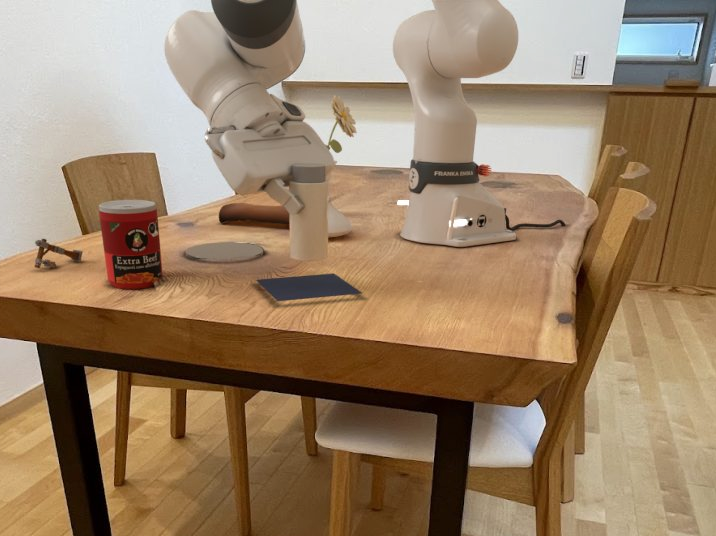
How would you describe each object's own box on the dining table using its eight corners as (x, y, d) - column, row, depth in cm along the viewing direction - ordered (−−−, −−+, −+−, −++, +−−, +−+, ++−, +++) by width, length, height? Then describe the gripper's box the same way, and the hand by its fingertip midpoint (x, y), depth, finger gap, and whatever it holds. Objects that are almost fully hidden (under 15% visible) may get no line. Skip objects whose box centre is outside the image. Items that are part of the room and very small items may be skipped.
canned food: (113, 292, 90) (103, 210, 86) (103, 278, 96) (93, 201, 92) (169, 286, 93) (162, 206, 89) (156, 273, 100) (148, 198, 95)
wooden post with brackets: (26, 265, 99) (32, 235, 98) (69, 276, 106) (75, 248, 106) (34, 267, 98) (40, 237, 98) (77, 277, 105) (83, 250, 105)
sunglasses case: (313, 221, 139) (308, 195, 133) (304, 243, 135) (298, 218, 129) (235, 215, 143) (227, 190, 138) (224, 237, 139) (215, 212, 134)
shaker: (320, 251, 93) (320, 162, 88) (333, 259, 89) (334, 166, 84) (285, 253, 92) (283, 163, 87) (296, 262, 87) (295, 167, 82)
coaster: (252, 243, 120) (252, 240, 120) (272, 259, 109) (272, 256, 109) (180, 248, 116) (179, 244, 115) (193, 265, 104) (192, 261, 104)
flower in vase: (323, 244, 120) (325, 95, 110) (280, 235, 127) (279, 93, 117) (369, 235, 129) (375, 95, 119) (327, 226, 136) (329, 94, 126)
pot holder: (333, 278, 99) (333, 273, 98) (362, 298, 89) (362, 293, 89) (255, 284, 95) (255, 279, 94) (277, 306, 85) (277, 300, 85)
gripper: (211, 109, 78) (280, 202, 77) (306, 106, 94) (364, 183, 93) (185, 147, 82) (251, 236, 81) (281, 138, 98) (337, 212, 97)
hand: (313, 207), depth 87 cm, fingers closed on shaker, 5 cm apart
